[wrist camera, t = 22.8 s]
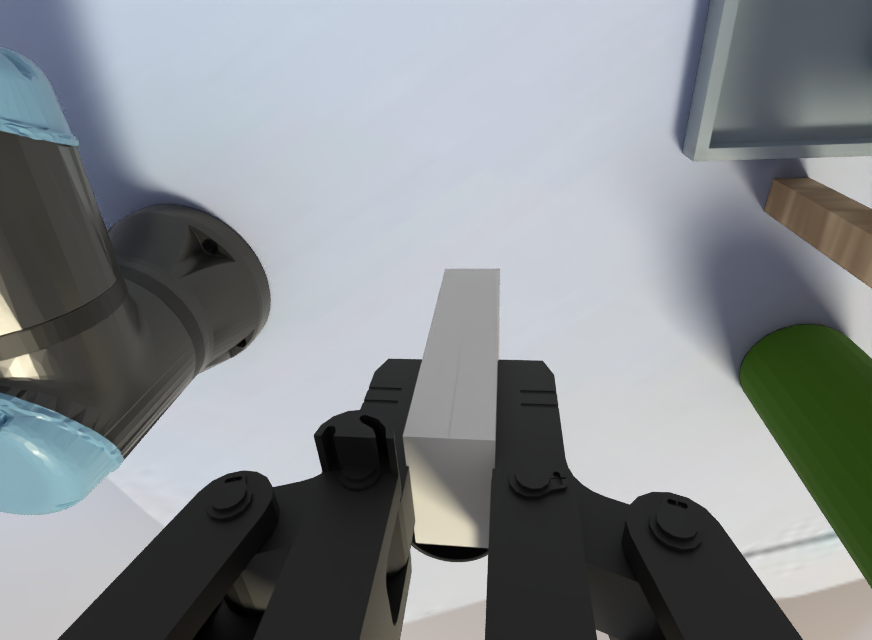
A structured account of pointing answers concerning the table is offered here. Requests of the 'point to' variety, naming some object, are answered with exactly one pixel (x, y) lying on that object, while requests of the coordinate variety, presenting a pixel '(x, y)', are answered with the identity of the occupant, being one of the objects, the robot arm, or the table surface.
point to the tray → (783, 81)
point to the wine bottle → (820, 422)
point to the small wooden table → (825, 222)
